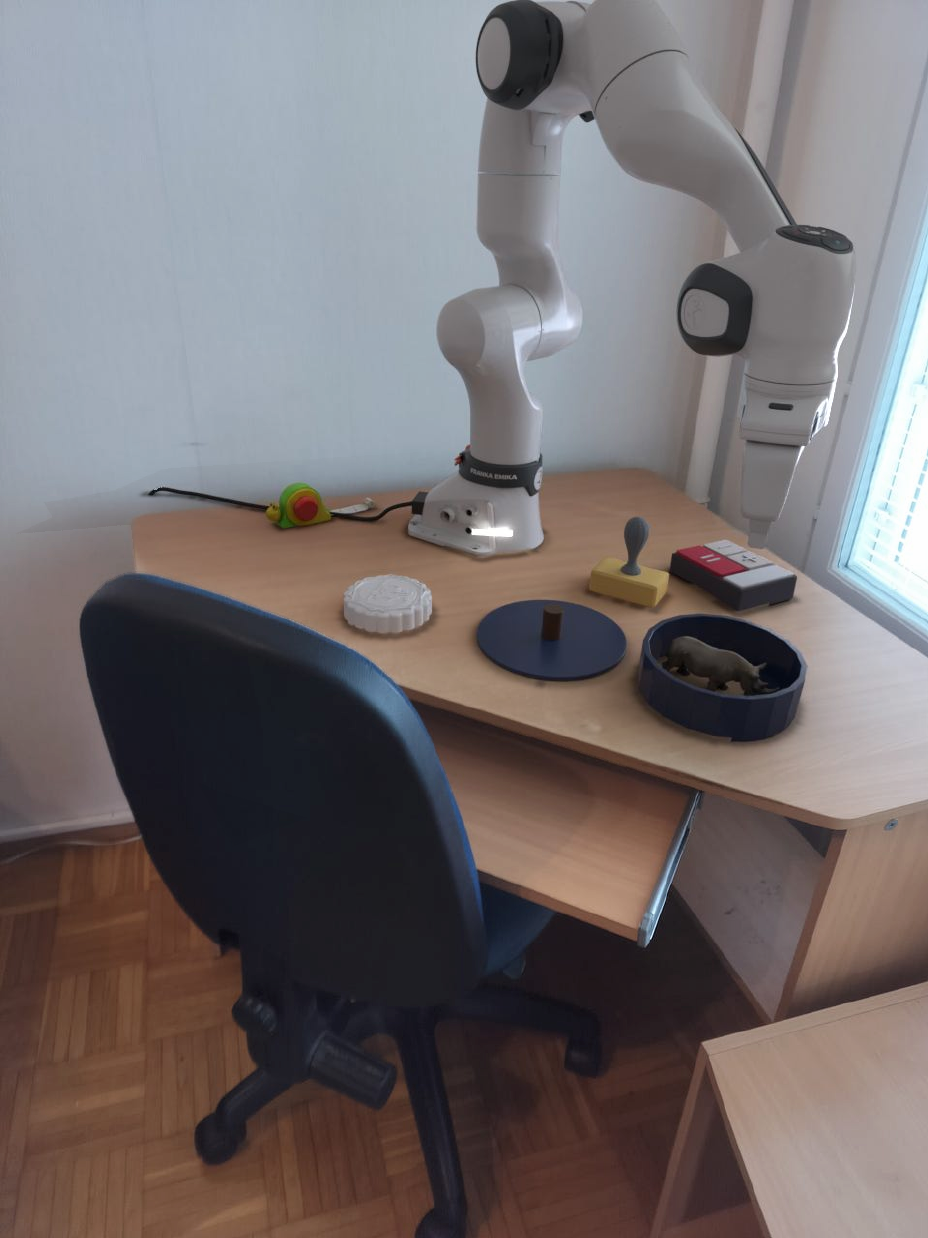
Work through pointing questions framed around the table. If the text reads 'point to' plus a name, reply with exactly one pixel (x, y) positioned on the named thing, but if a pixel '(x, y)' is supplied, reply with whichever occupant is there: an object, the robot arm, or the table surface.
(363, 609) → the mooncake
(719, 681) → the rhino figurine
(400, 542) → the table surface
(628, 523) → the rubber stamp
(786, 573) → the calculator
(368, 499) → the toy measuring tape
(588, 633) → the pan lid
